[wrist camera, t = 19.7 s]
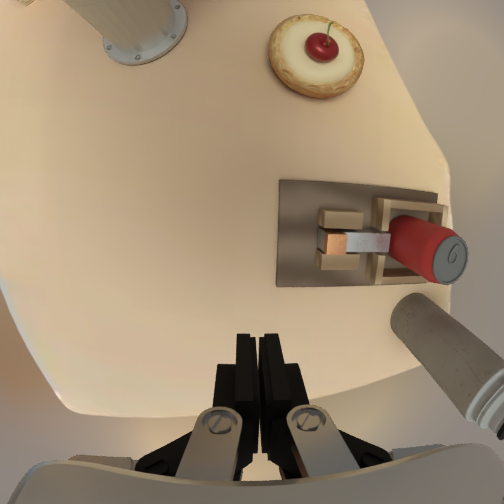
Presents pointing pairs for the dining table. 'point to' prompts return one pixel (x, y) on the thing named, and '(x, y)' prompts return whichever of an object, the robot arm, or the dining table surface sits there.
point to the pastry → (315, 56)
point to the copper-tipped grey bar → (352, 240)
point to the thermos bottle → (454, 360)
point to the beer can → (428, 249)
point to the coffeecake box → (25, 1)
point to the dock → (308, 229)
